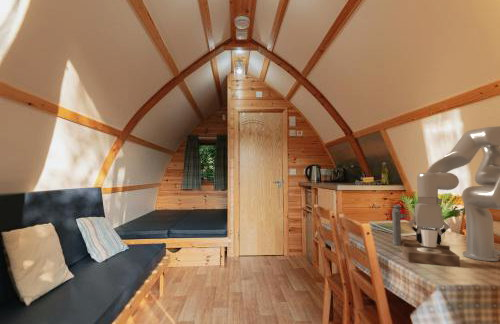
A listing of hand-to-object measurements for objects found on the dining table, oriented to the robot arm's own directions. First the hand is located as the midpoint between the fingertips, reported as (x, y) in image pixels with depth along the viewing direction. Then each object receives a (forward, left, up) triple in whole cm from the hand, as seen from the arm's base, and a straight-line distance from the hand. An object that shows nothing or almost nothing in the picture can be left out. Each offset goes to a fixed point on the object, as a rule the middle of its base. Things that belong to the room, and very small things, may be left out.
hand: (428, 242), depth 119 cm
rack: (0, 0, -7) cm, 7 cm away
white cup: (0, 0, -1) cm, 1 cm away
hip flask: (+7, -33, -8) cm, 35 cm away
